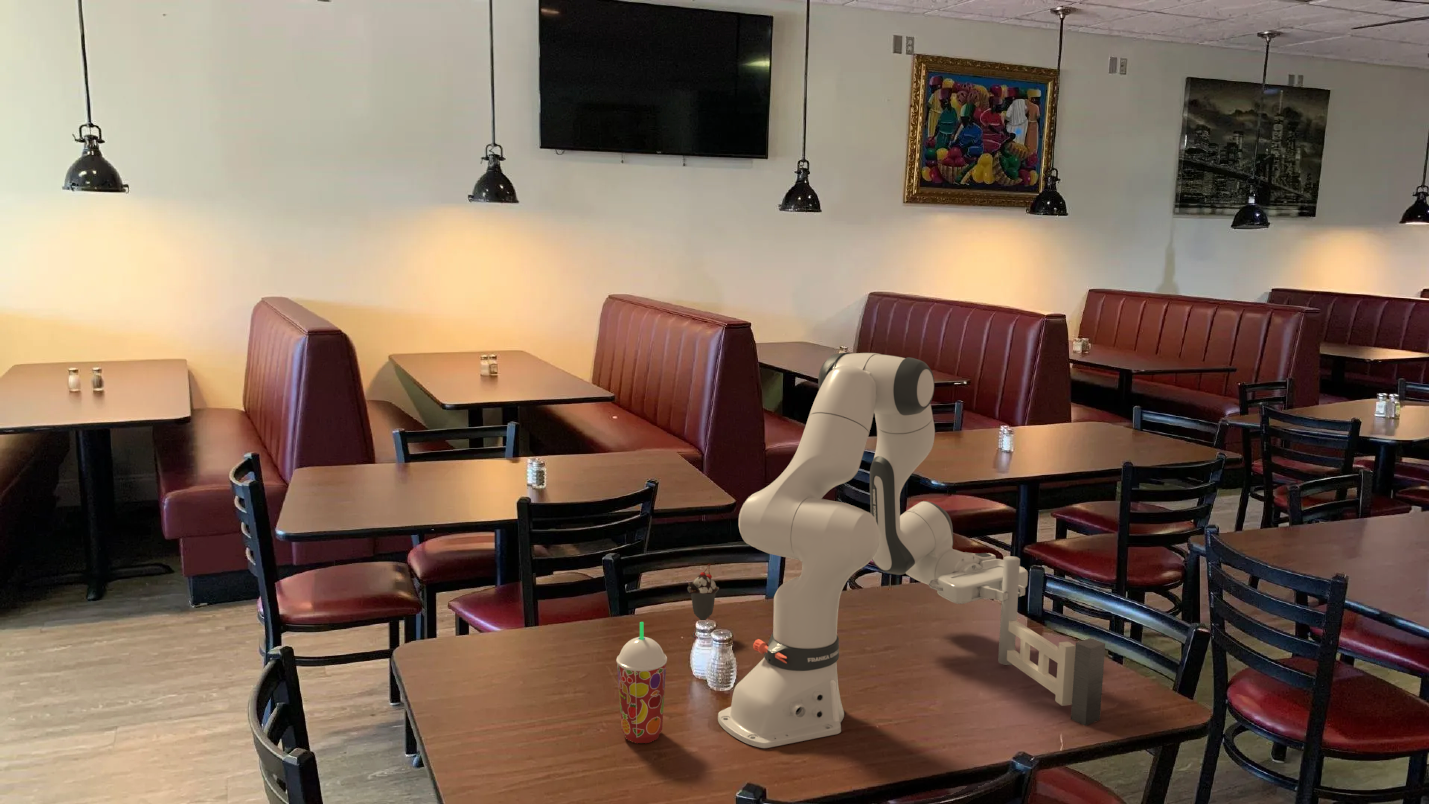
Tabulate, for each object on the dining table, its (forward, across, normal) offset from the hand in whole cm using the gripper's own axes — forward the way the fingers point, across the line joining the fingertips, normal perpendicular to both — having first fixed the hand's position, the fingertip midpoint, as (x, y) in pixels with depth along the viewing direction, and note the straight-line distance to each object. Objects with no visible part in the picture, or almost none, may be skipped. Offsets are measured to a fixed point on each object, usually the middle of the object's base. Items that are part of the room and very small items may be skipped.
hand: (1014, 594), depth 201 cm
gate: (+8, -3, +14) cm, 16 cm away
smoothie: (-14, -74, +15) cm, 77 cm away
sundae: (-46, -41, +15) cm, 64 cm away
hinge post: (+22, -6, +15) cm, 27 cm away
